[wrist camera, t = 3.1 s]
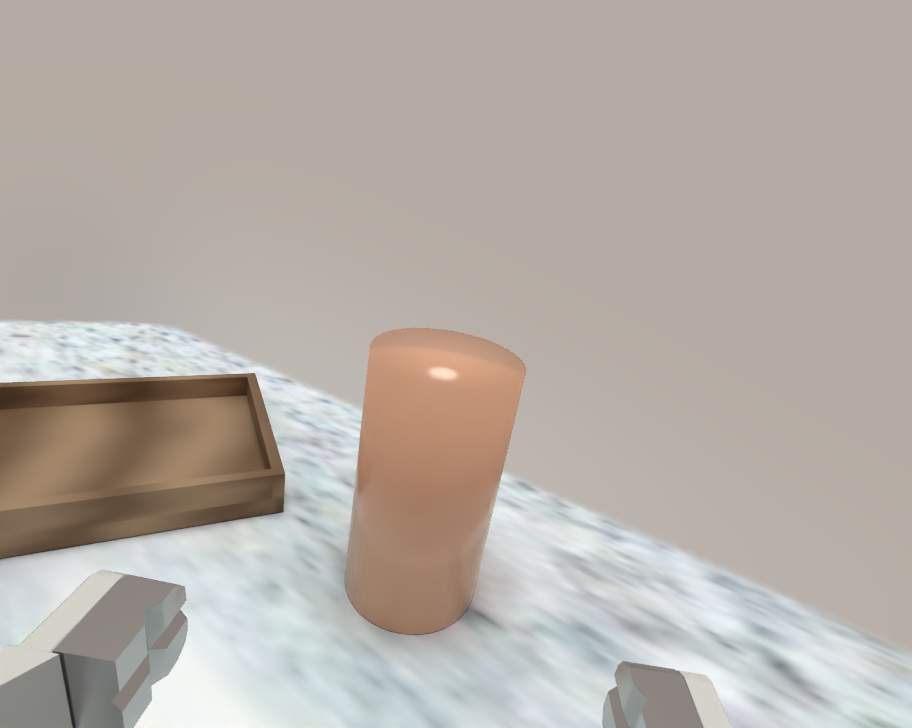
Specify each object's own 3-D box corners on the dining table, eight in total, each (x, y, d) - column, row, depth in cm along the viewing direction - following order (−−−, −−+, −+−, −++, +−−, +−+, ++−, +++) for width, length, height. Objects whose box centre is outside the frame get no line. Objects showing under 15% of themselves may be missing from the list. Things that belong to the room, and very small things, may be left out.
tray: (-135, 580, 20) (-153, 531, 19) (-27, 421, 30) (-35, 384, 29) (283, 511, 27) (284, 473, 26) (254, 403, 38) (254, 373, 37)
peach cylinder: (367, 653, 21) (404, 394, 16) (330, 546, 26) (350, 327, 21) (497, 611, 24) (558, 384, 19) (440, 523, 29) (478, 328, 24)
